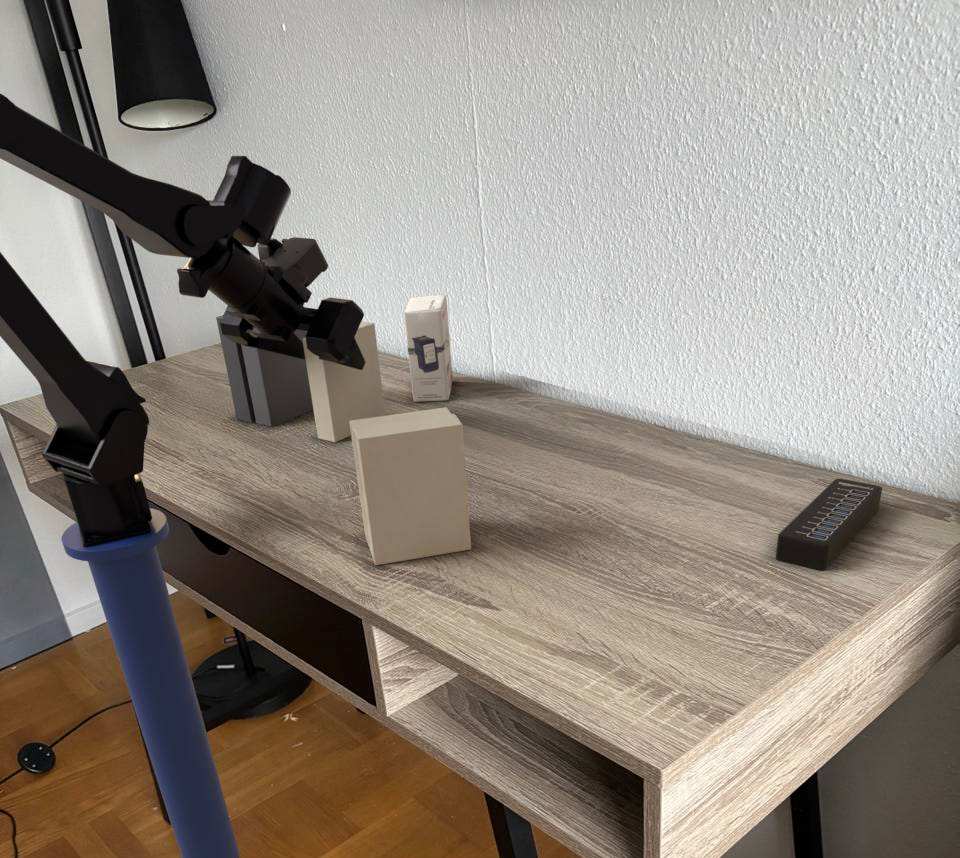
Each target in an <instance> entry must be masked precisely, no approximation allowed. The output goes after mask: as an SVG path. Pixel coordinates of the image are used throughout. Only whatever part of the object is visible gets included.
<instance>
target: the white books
mask: <svg viewBox="0 0 960 858" xmlns="http://www.w3.org/2000/svg"><path fill="white" fill-rule="evenodd" d="M349 423H350V430H351V436H350V437H351V444H352V452H353V457H354V458H353V459H354V466H355V471H356V472H355V474H356V479H357V480H356V481H357V487H358V488H357V489H358V495H359V501H360V509H361V516H362V523H363V524H362V525H363V531H364V537H365V540H366V543H367V545H368V549H369V551H370V555H371V557H372V560H373V563H374V566H381V565H386V564H392V563H398V562H399V563H400V562H404V561H410V560H411V561H412V560H417V559H422V558H429V557H434V556H440V555H446V554H453V553H458V552H464V551H468V550H469V551H470V550H472V539H471V525H470V513H469V498H468V483H467V471H466V457H465V443H464V431H463V428H464V427H463V423H462V422H461V420H460V419H459V418H458V416H457V415H456V414H455V413H451V411H450V410H449V408H448V407H446V406H445V407H438V408H431V409H424V410H417V411H409V412H401V413H395V414H387V415H385V416H380V417H373V418H365V419H358V420H351V421H349Z"/></svg>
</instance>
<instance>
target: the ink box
mask: <svg viewBox="0 0 960 858" xmlns="http://www.w3.org/2000/svg"><path fill="white" fill-rule="evenodd" d="M447 301H448V300H447V295H445V294H436V295H426V296H416V297H410V299H409V301H408V303H407V306H406V308H405V310H404V312H403V316H404V318H403V319H404V326H405V336H406V347H407V356H408V365H409V367H408V368H409V374H410V375H409V376H410V383H411V384H410V385H411V392H412V401H413V402H414V403H420V402H439V401H441V402H443V401H449V399H450V395H451V391H452V386H453V382H454V381H453V369H452V367H453V366H452V354H451V342H450V341H451V339H450V338H451V337H450V325H449V324H450V323H449V313H448V302H447Z"/></svg>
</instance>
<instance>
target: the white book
mask: <svg viewBox="0 0 960 858" xmlns="http://www.w3.org/2000/svg"><path fill="white" fill-rule="evenodd" d="M375 325H376V324H375V322H369V321H363V320H362V321H361V323H360V326H359V328H358V330H357V332H356V335H355V339H356V342H357V344H358V346H359V348H360V351H361V353H362V355H363V357H364V359H365V365H364V368H363V369H362V370H358V369H354V368H351V367H347V366H343V365H339V364H336V363H332V362H328V361H324V360H320V359H319V356H317V355H315V354H313V353H312V352H310V351H309V350H308V349H307V344H306V338H303V339H302V340H303V346H304V353H305V359H306V365H307V372H308V378H309V384H310V391H311V397H312V403H313V409H314V410H313V415H314V421H315V427H316V434H317V438H318V439H320V440H325V441H328V442H332V443H337V442H339V441H342V440H344V439H347V438H348V437H351V430H350V423H349V421H351V420H358V419H365V418H373V417H380V416H386V410H385V401H384V393H383V392H384V391H383V384H382V377H381V367H380V360H379V351H378V343H377V341H378V340H377V335H376V326H375Z"/></svg>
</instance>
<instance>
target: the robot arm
mask: <svg viewBox="0 0 960 858" xmlns="http://www.w3.org/2000/svg"><path fill="white" fill-rule="evenodd" d="M0 160H2V161H5V162H6V163H8V164H10V165H12V166H14V167H16V168H18V169H19V170H21V171H23V172H25V173H27V174H29V175H31V176H32V177H35V178H37V179H39V180H41V181H43V182H45V183H47V184H48V185H50V186H52V187H54V188H56V189H58V190H60V191H62V192H64V193H65V194H68V195H69V196H71V197H74V199H75V198H76V199H77V200H79V201H81V202H83V203H85V204H86V205H88V206H91V207H93V208H94V209H96V210H98V211H100V212H101V213H103V214H104V215H105V216H107V217H108V218H109V219H111V220H112V221H113V222H114V224H115V225H116V226H117V227H118V229H119V230H120V231H121V232H122V233H123V234H124V235H126V236H127V237H128V238H130V239H131V240H132V241H133V242H135V243H136V244H138V245H139V246H140V247H141V248H143V249H144V250H145V251H147V252H149V253H152V254H154V255H159V256H167V257H168V256H170V257H177V258H178V257H179V258H186V259H188V262H187V263H186V265H185V266H184V267H177V269H176V273H177V276H178V282H177V283H178V292H179V294H180V295H181V296H186V297H192V298H198V299H199V298H200V299H204V298H205V297H206V296H207V294H208V291H209V292H210V293H212V294H213V295H214V296H215V297H217V298H218V299H219V300H220V301H222V302H223V303H224V304H225V305H227V307H225V311H224V313H223V317H222V319H221V321H220V326H221V330H222V334H223V335H224V336H225V337H227V338H228V339H229V340H231V341H232V342H233V343H238V344H243V345H244V346H247V347H252V348H256V349H260V350H265V351H269V352H273V353H278V354H282V355H287V356H291V357H295V358H299V359H303V360H306V359H305V353H304V346H303V342H302V341H301V340H300V339H299V338H298V337H297V336H296V335H295V334H294V332H295V330H296V329H298V330H304V331H308V332H307V334H306V336H305V338H306V344H307V349H308V350H309V351H310V352H312V353H313V354H315V355H317V356H319V359H320V360H324V361H328V362H332V363H336V364H339V365H343V366H347V367H351V368H354V369H358V370H362V369H363V368H364V365H365V359H364V357H363V355H362V353H361V351H360V348H359V346H358V344H357V342H356V339H355V335H356V332H357V330H358V328H359V326H360V323H361V321H363V319H364V316H365V313H364V310H363V309H362V308H361V307H360V305H358V304H357V302H355V301H354V300H353V299H345V298H339V297H331V296H330V297H327V298H324V299H321V301H320V303H319V305H318V307H317V308H314V307H313V308H312V307H305V306H304V305H305V303H306V304H307V303H309V300H310V299H311V297H312V294H313V291H311V290H309V286H310V285H312V283H313V282H314V281H315V280H316V279H317V278H318V277H319V276H320V275H321V274H322V273H326V271H327V270H328V268H329V263H328V262H327V260H326V258H325V256H324V253H323V252H322V250H321V247H320V245H319V244H318V241H317V240H316V239H315V238H308V237H307V238H306V237H296V236H295V237H293V236H292V237H290V238H282V239H281V240H280V241H279V240H278V239H277V238H272V236H273V234H274V232H275V230H276V228H277V225H278V224H279V221H280V219H281V217H282V215H283V213H284V210H285V208H286V206H287V204H288V202H289V199H290V197H291V195H292V189H291V187H290V186H289V184H288V183H287V181H286V180H285V179H284V178H283V177H282V176H280V175H279V174H275V173H273V172H272V171H271V170H269V169H268V168H266V167H264V166H262V165H259V164H257V163H254V162H252V161H251V160H250V158H249V157H247V155H231V157H230V159H229V161H228V162H227V164H226V168H225V173H224V175H223V177H222V180H221V182H220V184H219V185H218V186H219V187H218V188H217V190H216V193H215V195H214V197H213V200H209V199H206V198H205V197H203V196H202V195H201V194H199V193H196V192H194V191H191V190H188V189H185V188H183V187H179V186H177V185H174V184H171V183H167V182H163V181H159V180H156V179H152V178H148V177H144V176H142V175H139V174H136V173H133V172H131V171H129V170H128V169H126V168H124V167H122V166H121V165H119V164H118V163H117V162H114V161H113V160H110V159H109V158H108V157H106V156H104V155H103V154H100V153H98V152H97V151H95V150H93V149H91V148H90V147H88V146H86V145H84V144H83V143H81V142H79V141H78V140H76V139H74V138H73V137H71V136H69V135H67V134H66V133H64V132H62V131H61V130H59V129H57V128H55V127H54V126H52V125H50V124H48V123H47V122H45V121H43V120H42V119H40V118H38V117H36V116H35V115H34V114H33V115H32V114H31V113H29V112H28V111H26V110H24V109H22V107H21V108H20V107H19V106H17V105H16V104H15V103H14V102H13V101H12V100H11V99H9V97H7V96H6V95H4V94H2V93H0ZM256 246H257V253H258V257H257V256H256V255H255V254H253V253H252V252H251V251H250V250H249V249H248V248H247V247H249V248H255V247H256ZM0 338H1V339H2V340H3V342H4V343H5V344H6V345H7V347H9V349H10V350H11V351H12V352H13V353H14V354H15V356H16V357H17V358H18V360H20V361H21V363H22V364H23V365H24V366H25V367H26V368H27V370H28V371H29V372H30V373H31V374H32V376H33V377H34V378H35V379H36V381H37V383H38V384H39V386H40V390H41V395H42V397H43V401H44V404H45V407H46V409H47V411H48V413H49V415H50V416H51V417H52V420H53V421H54V423H55V426H54V428H53V430H52V432H51V434H50V436H49V439H48V441H47V442H46V445H45V447H44V448H43V450H42V453H41V456H42V458H43V459H44V461H45V462H46V463H47V465H48V466H49V467H50V469H51V470H52V471H54V472H56V473H62V474H63V479H64V484H65V487H66V490H67V493H68V497H69V500H70V503H71V506H72V510H73V512H74V516H75V519H76V522H78V526H79V531H80V536H81V541H82V545H83V547H91V546H95V545H99V544H104V543H108V542H113V541H117V540H122V539H126V538H131V537H135V536H140V535H144V534H148V533H150V532H151V528H150V525H149V522H148V521H151V520H152V515H151V511H150V508H151V507H150V504H149V501H148V497H147V493H146V489H145V485H144V482H143V479H142V477H141V475H140V474H141V473H143V472H144V460H145V445H146V443H145V442H146V439H147V436H148V432H149V431H148V429H149V425H150V417H149V415H148V413H147V411H146V409H145V408H144V406H143V405H142V404H144V403H146V402H147V400H146V398H144V397H143V396H141V395H140V394H138V393H137V392H136V390H134V389H133V386H132V385H131V383H130V382H129V380H128V377H127V375H126V374H125V373H124V372H123V370H122V369H121V368H120V367H118V366H115V365H110V364H106V363H101V362H97V361H93V360H88V359H85V358H84V357H83V355H82V354H81V353H80V352H79V350H78V349H77V347H76V346H75V345H74V344H73V343H72V341H71V340H70V339H69V338H68V336H67V335H66V334H65V332H64V331H63V330H62V329H61V327H60V326H59V325H58V324H57V322H56V321H55V319H53V317H52V315H51V314H50V312H48V310H46V308H45V307H44V306H43V304H42V303H41V301H40V300H39V299H38V298H37V297H36V295H35V294H34V293H33V291H32V290H31V288H30V287H29V286H28V285H27V284H26V282H25V281H24V280H23V279H22V278H21V275H20V274H19V273H17V271H16V269H14V267H13V266H12V265H11V263H10V262H9V261H8V259H6V257H5V255H3V253H2V252H1V251H0Z"/></svg>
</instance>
